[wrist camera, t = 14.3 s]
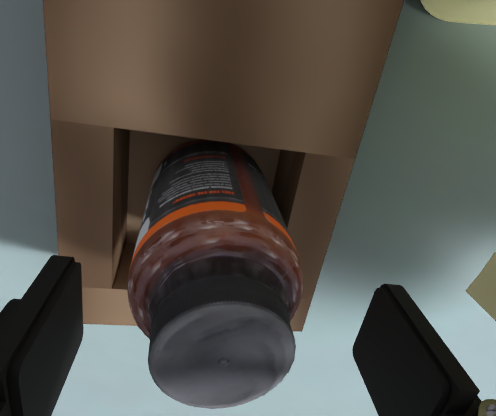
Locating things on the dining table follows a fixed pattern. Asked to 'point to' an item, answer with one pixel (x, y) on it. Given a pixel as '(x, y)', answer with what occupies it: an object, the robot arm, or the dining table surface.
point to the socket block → (204, 115)
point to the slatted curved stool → (486, 13)
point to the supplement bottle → (214, 278)
